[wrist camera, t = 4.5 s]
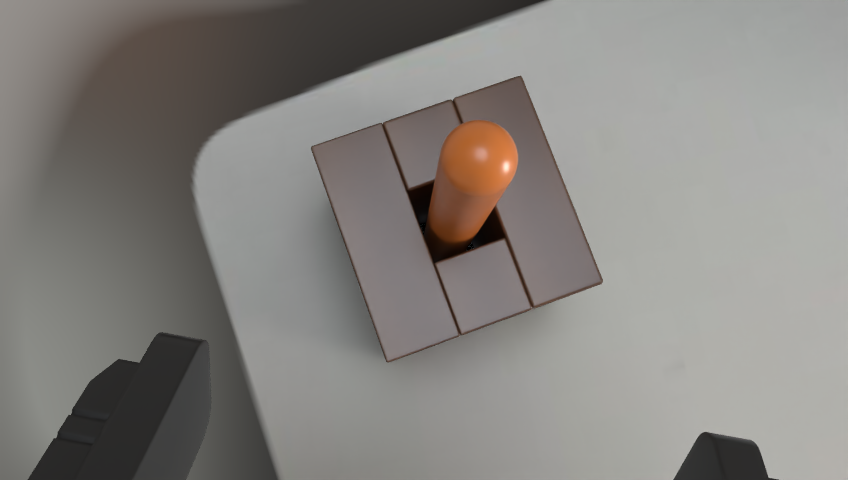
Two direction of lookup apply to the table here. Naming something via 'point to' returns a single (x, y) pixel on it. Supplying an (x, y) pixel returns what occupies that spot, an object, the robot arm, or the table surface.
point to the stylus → (468, 185)
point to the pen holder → (493, 244)
